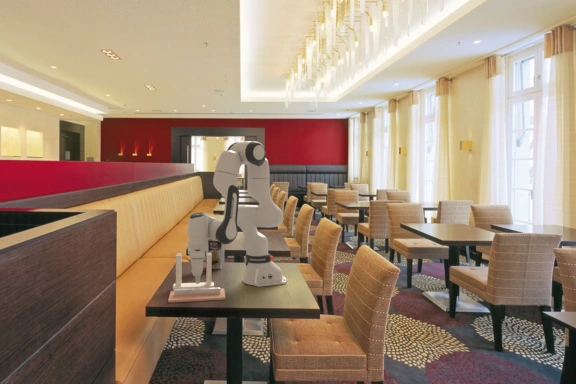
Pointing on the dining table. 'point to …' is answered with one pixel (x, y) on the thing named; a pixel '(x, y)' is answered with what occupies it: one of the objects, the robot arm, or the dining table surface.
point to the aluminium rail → (197, 291)
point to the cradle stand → (193, 285)
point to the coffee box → (216, 253)
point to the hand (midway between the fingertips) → (198, 279)
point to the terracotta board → (197, 297)
